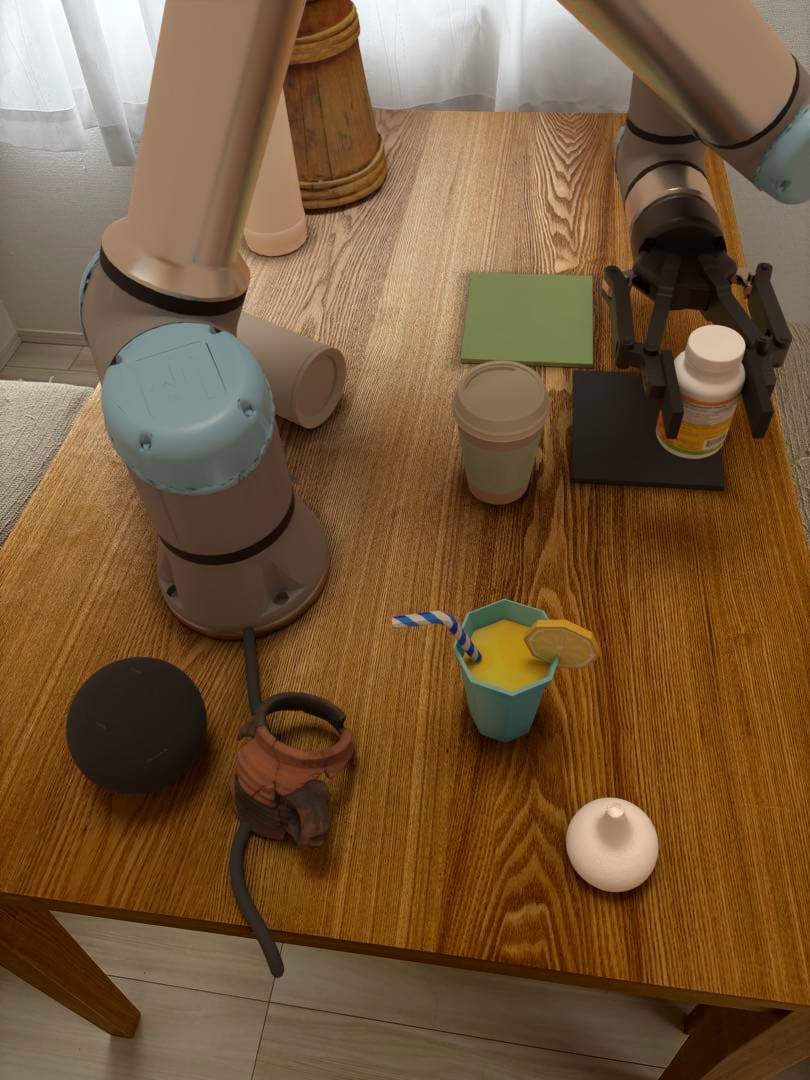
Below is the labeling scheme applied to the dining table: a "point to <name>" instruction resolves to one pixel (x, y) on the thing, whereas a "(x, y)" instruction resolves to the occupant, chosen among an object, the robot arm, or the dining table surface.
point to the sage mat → (529, 320)
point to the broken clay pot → (288, 773)
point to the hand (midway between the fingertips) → (718, 425)
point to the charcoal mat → (628, 437)
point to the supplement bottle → (706, 391)
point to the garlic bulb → (612, 844)
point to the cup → (509, 660)
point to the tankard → (332, 109)
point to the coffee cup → (500, 427)
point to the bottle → (277, 195)
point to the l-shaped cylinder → (295, 370)
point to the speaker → (136, 725)
